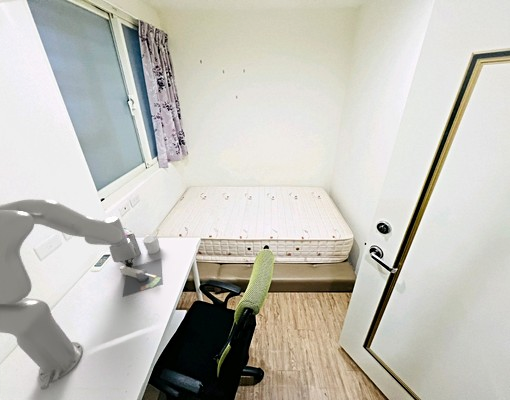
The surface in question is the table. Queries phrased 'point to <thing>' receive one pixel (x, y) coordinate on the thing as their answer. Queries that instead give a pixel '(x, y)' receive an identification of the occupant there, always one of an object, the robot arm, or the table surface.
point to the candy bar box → (132, 240)
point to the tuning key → (136, 273)
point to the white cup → (151, 243)
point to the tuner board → (135, 286)
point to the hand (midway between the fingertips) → (130, 266)
